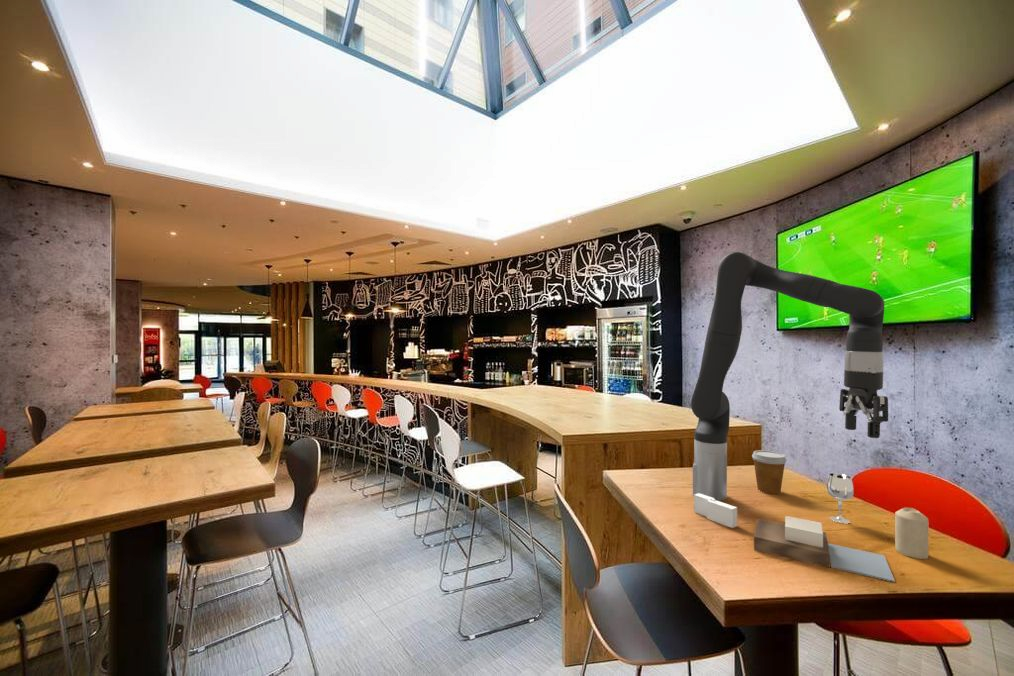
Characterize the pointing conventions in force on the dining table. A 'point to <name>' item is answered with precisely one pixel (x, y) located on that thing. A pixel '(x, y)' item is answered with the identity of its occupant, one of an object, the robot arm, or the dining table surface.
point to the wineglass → (840, 492)
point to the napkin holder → (715, 510)
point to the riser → (788, 544)
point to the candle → (911, 533)
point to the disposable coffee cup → (769, 470)
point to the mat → (859, 562)
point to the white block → (803, 531)
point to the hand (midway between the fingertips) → (861, 433)
